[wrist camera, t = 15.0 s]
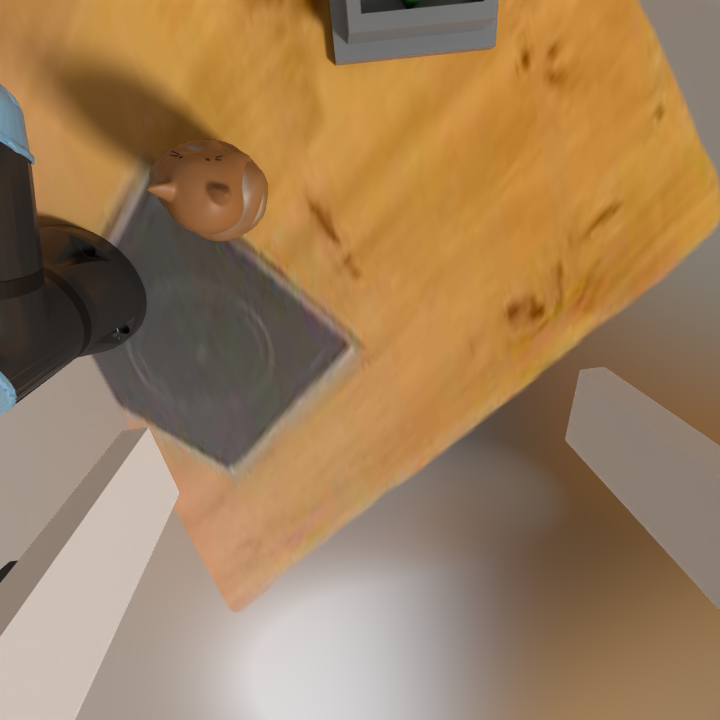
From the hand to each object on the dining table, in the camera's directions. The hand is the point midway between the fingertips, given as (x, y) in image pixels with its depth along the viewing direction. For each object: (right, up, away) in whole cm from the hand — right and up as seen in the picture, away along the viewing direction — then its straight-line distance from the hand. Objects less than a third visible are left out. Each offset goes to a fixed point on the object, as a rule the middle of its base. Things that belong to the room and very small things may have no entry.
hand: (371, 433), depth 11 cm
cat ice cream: (-14, +22, +29) cm, 39 cm away
